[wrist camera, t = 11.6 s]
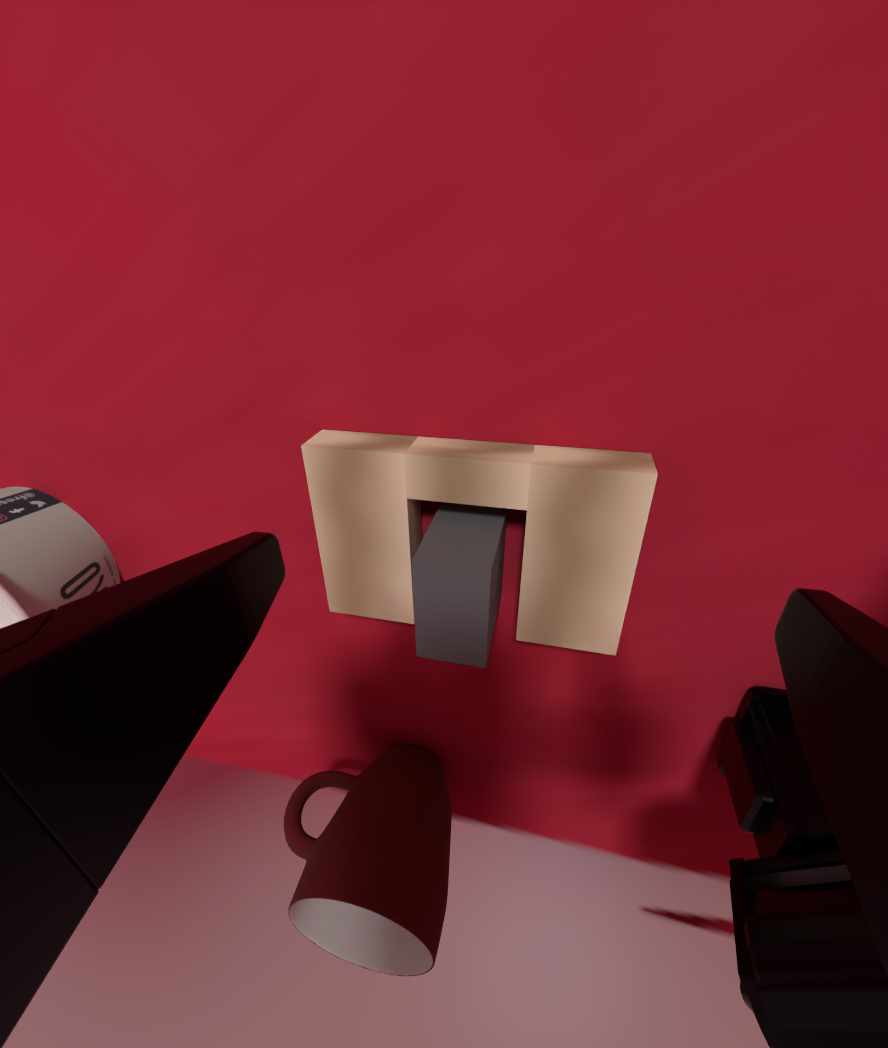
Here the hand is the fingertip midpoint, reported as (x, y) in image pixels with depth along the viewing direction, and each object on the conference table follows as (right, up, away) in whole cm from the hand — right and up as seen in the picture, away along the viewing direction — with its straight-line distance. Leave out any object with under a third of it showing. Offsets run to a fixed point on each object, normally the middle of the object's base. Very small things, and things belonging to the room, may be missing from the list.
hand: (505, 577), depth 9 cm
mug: (-4, -15, +25) cm, 29 cm away
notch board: (0, +1, +14) cm, 14 cm away
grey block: (0, 0, +15) cm, 15 cm away
